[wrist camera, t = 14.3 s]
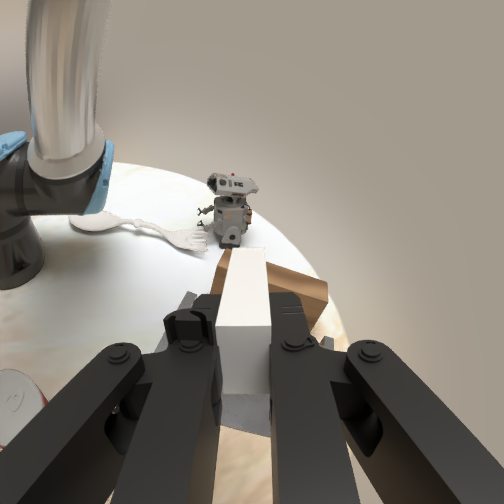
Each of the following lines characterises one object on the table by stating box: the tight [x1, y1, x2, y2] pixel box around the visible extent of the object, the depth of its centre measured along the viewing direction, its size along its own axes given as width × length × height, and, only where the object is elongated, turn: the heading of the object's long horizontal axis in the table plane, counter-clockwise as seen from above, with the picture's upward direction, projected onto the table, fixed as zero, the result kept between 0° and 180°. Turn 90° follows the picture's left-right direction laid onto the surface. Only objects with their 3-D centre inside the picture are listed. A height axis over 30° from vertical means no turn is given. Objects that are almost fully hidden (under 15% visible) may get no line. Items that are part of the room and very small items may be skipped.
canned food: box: [0, 369, 48, 449], centre depth 17 cm, size 8×8×11 cm
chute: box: [154, 291, 334, 437], centre depth 36 cm, size 16×23×5 cm
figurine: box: [197, 173, 259, 250], centre depth 61 cm, size 9×12×15 cm
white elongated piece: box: [69, 210, 211, 252], centre depth 57 cm, size 9×32×4 cm, turn 92°
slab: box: [210, 248, 328, 331], centre depth 45 cm, size 5×17×9 cm, turn 80°
